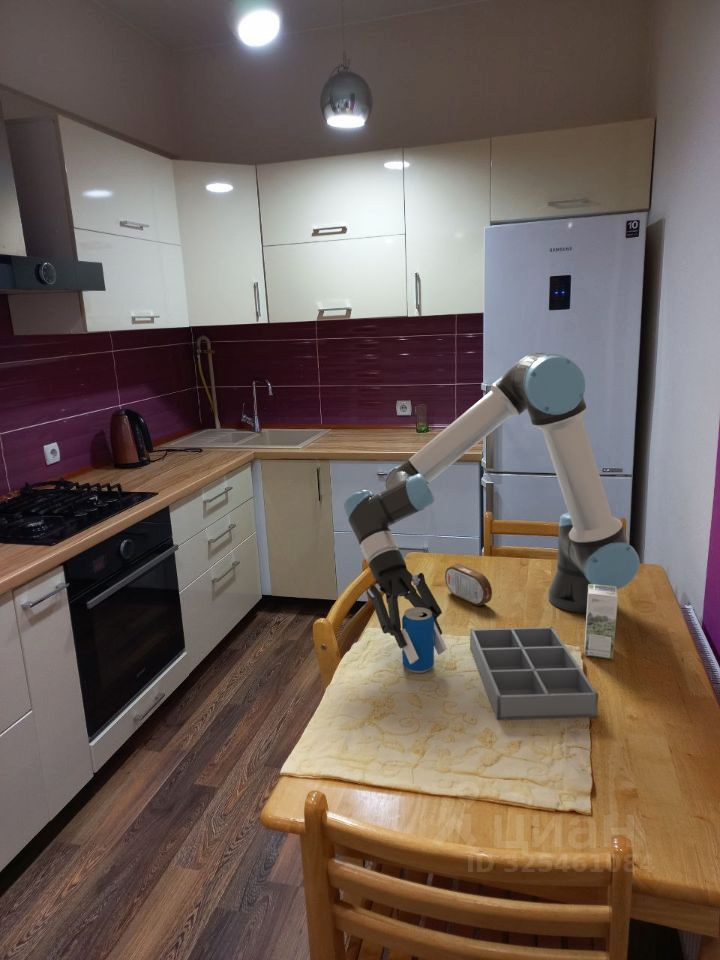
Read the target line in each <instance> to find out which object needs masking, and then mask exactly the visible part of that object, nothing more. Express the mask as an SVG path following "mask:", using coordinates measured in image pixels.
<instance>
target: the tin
mask: <svg viewBox="0 0 720 960" xmlns="http://www.w3.org/2000/svg"><path fill="white" fill-rule="evenodd" d="M444 578H445V579H444V580H445V584H446V587H447V589H448V590H449V592H450V594H452V595H454V596H455V597H457V598H459V599H462V600H463V601H465V602H467V603H469V604H472V605H473V606H476V607H478V606H479V607H480V606H483V605H485V604H489V602H490V601H491V600H492V597H493V589H492V585H491V582H490V581H489V579H488V578H487V577H486V575H484V574H483V573H482V572H480V571H477V570H475V569H472V568H471V567H468V566H465V565H463V564H461V563H455V564H453V565H451V566H449V567H447V568H446V570H445V574H444Z"/></svg>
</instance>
